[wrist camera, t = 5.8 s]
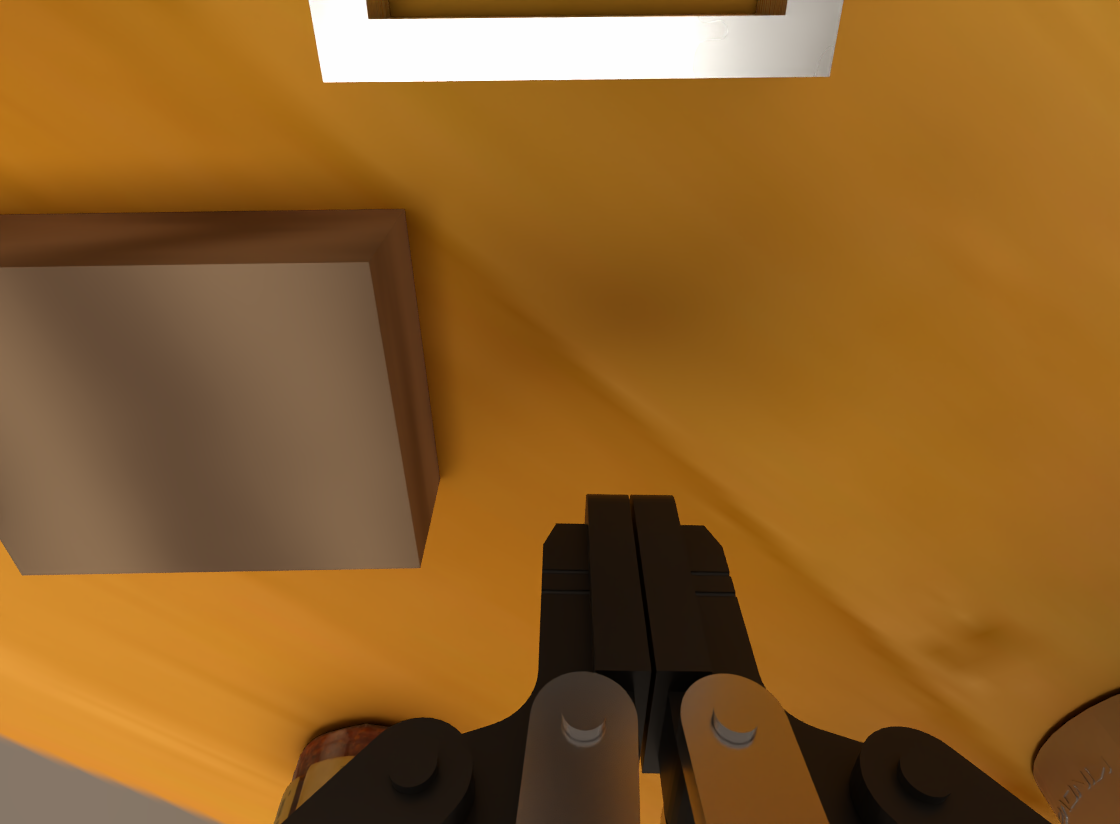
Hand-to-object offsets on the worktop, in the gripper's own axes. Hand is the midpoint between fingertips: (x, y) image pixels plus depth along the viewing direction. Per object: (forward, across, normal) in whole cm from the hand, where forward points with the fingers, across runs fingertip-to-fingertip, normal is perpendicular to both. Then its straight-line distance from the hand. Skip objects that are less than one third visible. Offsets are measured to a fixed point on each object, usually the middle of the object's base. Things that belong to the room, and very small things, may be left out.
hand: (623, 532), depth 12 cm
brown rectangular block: (+7, +10, 0) cm, 12 cm away
